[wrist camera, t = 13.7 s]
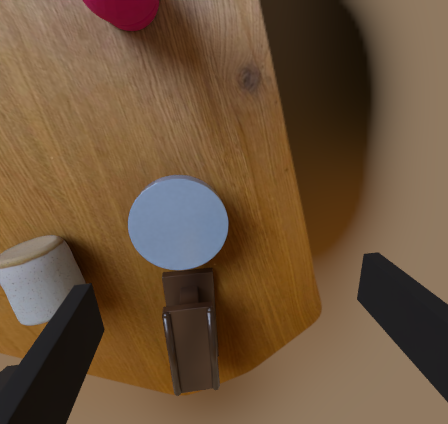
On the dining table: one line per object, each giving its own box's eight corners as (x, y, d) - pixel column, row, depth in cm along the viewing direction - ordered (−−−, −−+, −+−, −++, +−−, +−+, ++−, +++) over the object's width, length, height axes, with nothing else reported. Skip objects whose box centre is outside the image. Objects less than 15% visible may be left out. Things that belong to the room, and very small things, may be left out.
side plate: (224, 171, 30) (226, 175, 28) (228, 256, 34) (230, 265, 32) (123, 178, 29) (119, 182, 27) (139, 265, 33) (136, 274, 31)
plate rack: (212, 267, 38) (217, 301, 31) (218, 350, 44) (223, 395, 37) (162, 272, 37) (156, 308, 30) (175, 356, 43) (172, 403, 36)
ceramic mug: (72, 225, 33) (39, 256, 26) (97, 278, 36) (73, 319, 29) (-11, 245, 33) (-68, 281, 26) (21, 297, 36) (-22, 342, 29)
